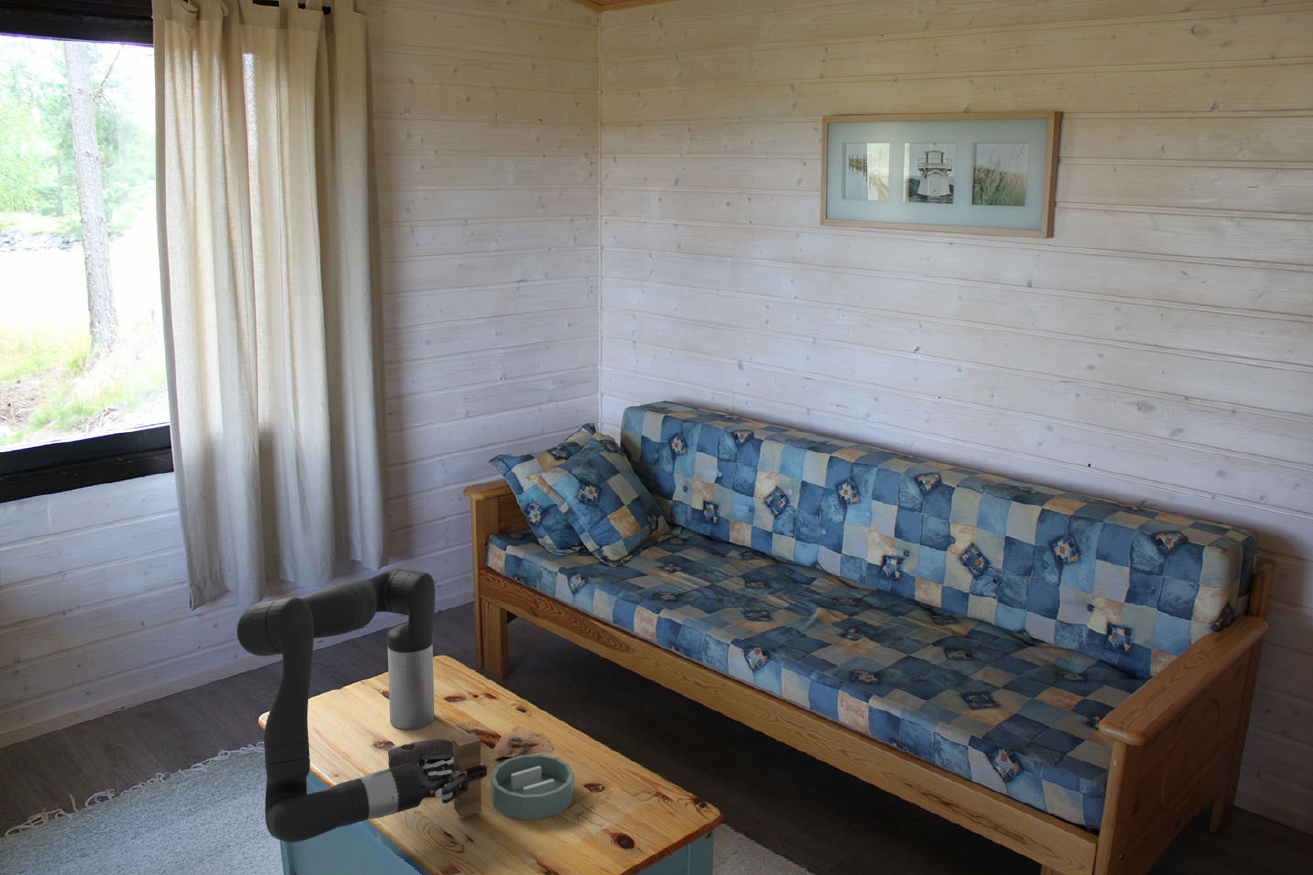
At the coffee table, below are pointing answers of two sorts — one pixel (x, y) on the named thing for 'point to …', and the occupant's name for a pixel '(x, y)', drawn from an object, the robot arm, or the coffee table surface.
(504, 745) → the clay slab
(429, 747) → the perforated stone tool
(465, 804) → the tall wooden post
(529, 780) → the slotted round holder
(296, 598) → the robot arm
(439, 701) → the coffee table surface
